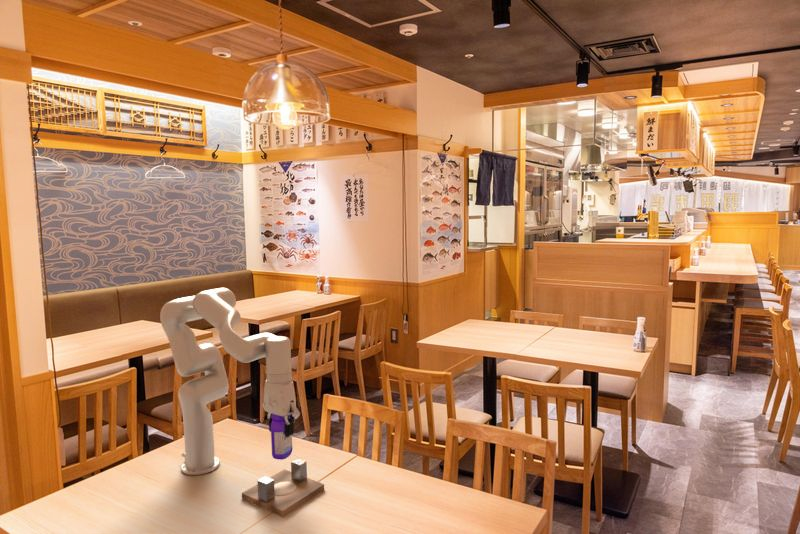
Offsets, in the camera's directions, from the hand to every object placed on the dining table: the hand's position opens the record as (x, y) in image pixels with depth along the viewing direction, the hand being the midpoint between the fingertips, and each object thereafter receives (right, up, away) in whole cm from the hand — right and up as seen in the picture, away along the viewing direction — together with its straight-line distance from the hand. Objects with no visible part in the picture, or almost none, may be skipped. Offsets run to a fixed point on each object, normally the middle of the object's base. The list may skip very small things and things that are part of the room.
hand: (281, 432), depth 168 cm
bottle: (0, -8, +1) cm, 8 cm away
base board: (0, -20, +2) cm, 21 cm away
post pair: (0, -18, +2) cm, 19 cm away
